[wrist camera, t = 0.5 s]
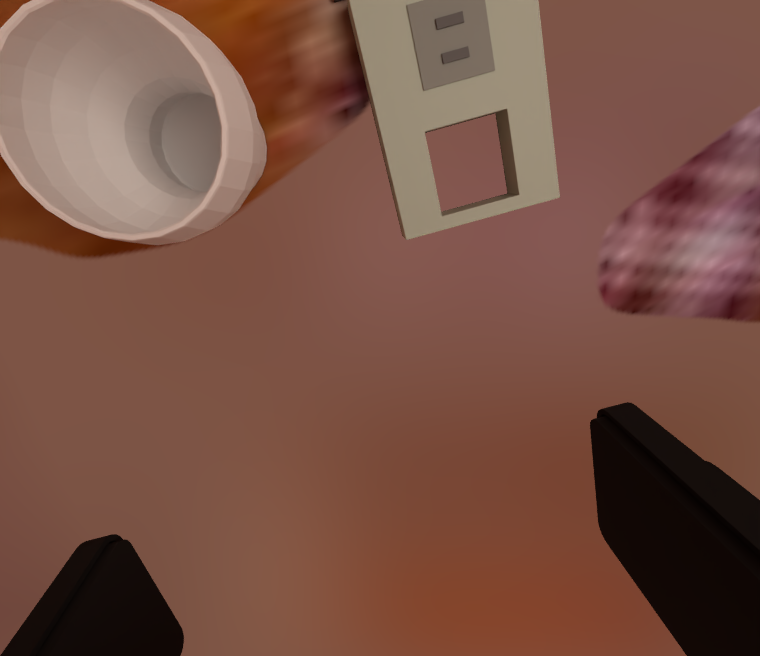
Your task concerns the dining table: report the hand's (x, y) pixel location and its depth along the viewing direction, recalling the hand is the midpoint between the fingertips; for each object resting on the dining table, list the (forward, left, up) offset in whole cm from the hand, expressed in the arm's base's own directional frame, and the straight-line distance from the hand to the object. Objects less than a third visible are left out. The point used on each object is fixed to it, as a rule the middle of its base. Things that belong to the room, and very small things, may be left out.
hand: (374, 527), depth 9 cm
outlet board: (-9, +11, -29) cm, 32 cm away
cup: (-11, -7, -29) cm, 32 cm away
